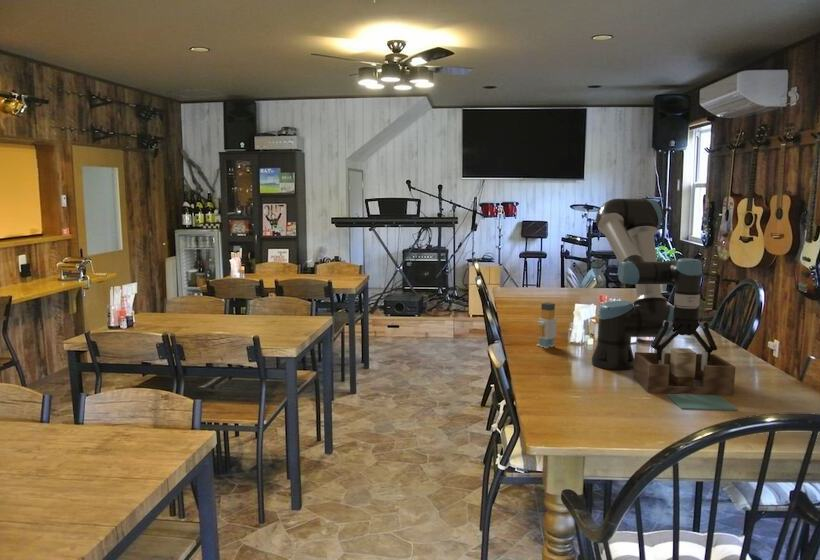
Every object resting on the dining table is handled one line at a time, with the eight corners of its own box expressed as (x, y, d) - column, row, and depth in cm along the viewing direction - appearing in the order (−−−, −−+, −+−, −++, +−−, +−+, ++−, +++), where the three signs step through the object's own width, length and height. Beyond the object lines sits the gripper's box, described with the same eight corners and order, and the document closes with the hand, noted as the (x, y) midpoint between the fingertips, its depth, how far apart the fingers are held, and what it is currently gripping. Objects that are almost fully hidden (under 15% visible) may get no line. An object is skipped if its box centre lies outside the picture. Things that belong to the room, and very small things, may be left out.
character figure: (535, 348, 260) (537, 304, 257) (537, 342, 270) (538, 300, 267) (555, 349, 258) (557, 305, 255) (556, 344, 268) (557, 301, 265)
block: (675, 376, 207) (677, 352, 205) (669, 371, 212) (671, 348, 211) (694, 377, 206) (696, 352, 205) (688, 371, 212) (689, 348, 211)
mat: (681, 409, 187) (681, 407, 187) (666, 395, 200) (666, 394, 200) (737, 410, 186) (737, 409, 186) (719, 396, 199) (719, 395, 199)
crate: (647, 392, 203) (649, 364, 201) (633, 377, 219) (634, 352, 218) (733, 394, 201) (735, 367, 200) (712, 380, 217) (714, 354, 216)
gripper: (650, 307, 203) (646, 372, 206) (731, 309, 202) (726, 374, 205) (643, 303, 211) (640, 366, 214) (721, 305, 209) (716, 368, 212)
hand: (682, 370), depth 209 cm, fingers open, 13 cm apart
